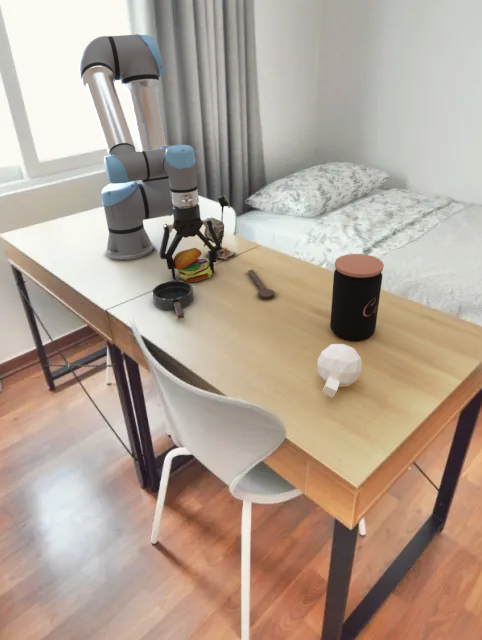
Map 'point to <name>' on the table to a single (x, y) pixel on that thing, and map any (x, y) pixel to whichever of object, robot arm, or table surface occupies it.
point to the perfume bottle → (338, 367)
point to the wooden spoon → (261, 287)
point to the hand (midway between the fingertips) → (193, 275)
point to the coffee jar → (355, 296)
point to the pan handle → (178, 310)
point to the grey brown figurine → (219, 231)
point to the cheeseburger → (192, 265)
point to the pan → (173, 294)
